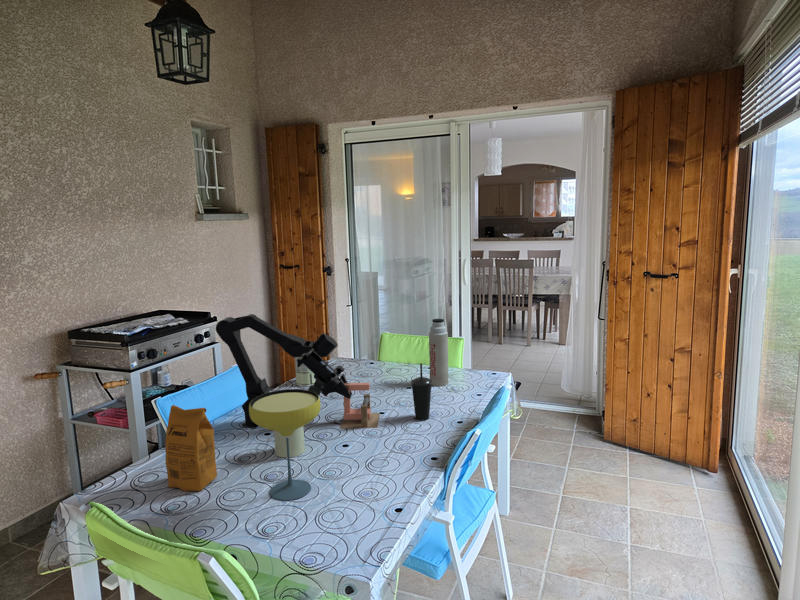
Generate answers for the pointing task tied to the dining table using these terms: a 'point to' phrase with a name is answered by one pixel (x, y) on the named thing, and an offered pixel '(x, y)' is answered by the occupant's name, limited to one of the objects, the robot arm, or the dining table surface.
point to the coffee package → (190, 449)
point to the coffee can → (304, 373)
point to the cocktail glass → (286, 428)
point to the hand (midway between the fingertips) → (350, 396)
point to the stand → (363, 417)
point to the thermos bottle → (438, 353)
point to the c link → (348, 412)
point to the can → (290, 443)
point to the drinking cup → (421, 396)
